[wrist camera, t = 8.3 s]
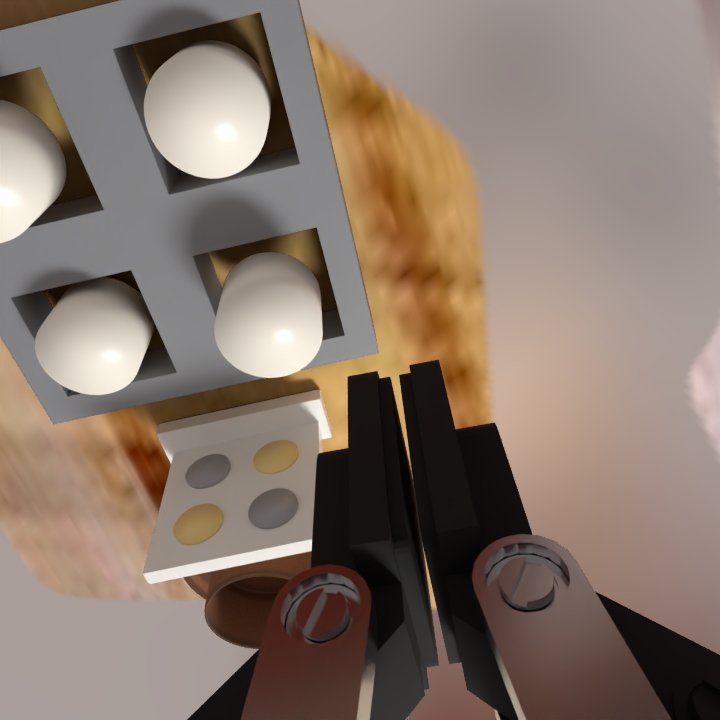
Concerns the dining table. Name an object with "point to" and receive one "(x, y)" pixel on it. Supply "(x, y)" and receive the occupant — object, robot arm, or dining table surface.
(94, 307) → the button
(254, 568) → the cup and saucer
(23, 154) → the button
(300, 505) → the card
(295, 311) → the button
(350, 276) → the button board
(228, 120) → the button
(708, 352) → the dining table surface
